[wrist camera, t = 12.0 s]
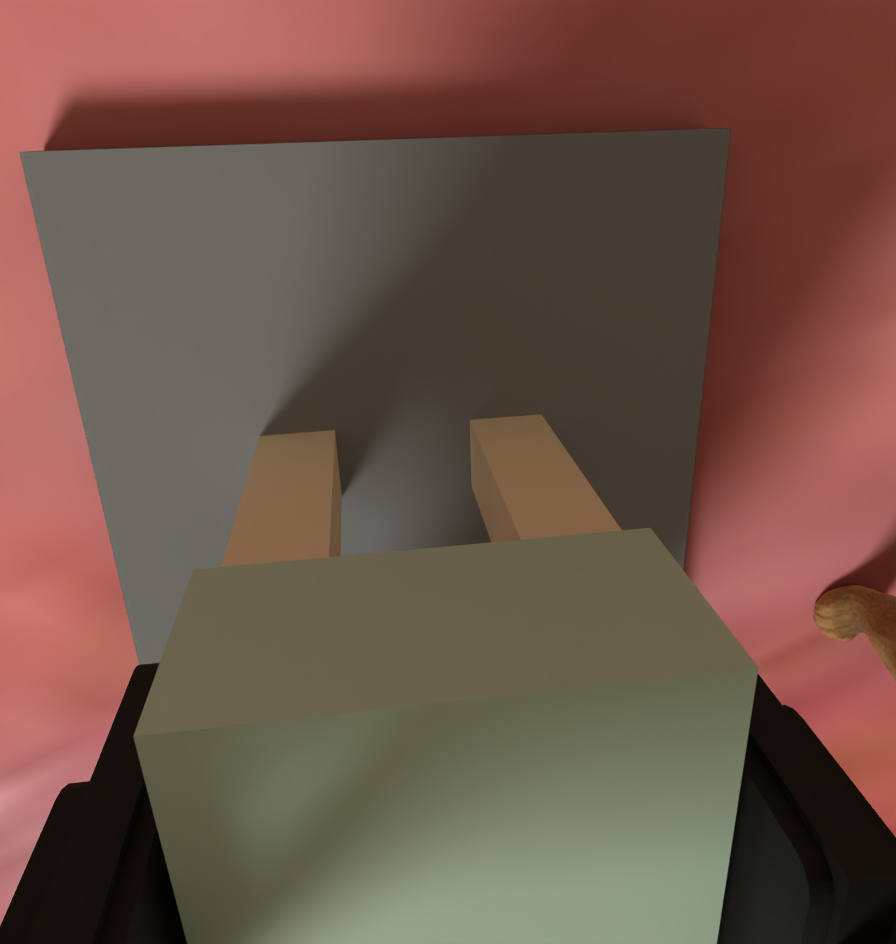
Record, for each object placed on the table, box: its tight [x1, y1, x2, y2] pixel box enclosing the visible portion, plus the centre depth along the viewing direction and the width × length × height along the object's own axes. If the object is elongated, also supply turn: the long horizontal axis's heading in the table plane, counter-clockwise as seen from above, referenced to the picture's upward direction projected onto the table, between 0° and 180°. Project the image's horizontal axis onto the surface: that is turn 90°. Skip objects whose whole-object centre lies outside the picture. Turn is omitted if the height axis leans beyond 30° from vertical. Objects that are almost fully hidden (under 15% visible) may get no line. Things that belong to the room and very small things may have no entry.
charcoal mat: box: [19, 128, 731, 665], centre depth 14 cm, size 10×14×1 cm
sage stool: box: [133, 414, 758, 944], centre depth 11 cm, size 7×5×7 cm
